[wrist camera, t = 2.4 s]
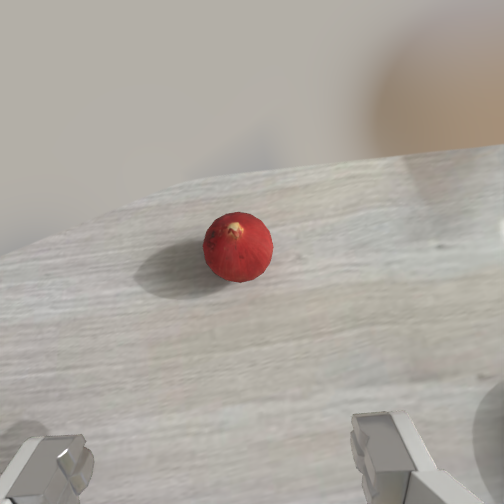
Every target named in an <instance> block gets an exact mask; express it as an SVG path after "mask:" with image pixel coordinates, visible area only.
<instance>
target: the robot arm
mask: <svg viewBox="0 0 504 504" xmlns="http://www.w3.org/2000/svg"><path fill="white" fill-rule="evenodd" d="M351 423H352V426H353V429H354V430H353V431H352V432H351V448H352V454H353V458H354V461H355V465H356V468H357V469H358V470H359V471H360V472H361V473H362V474H363V476H362V488H363V491H364V494H365V498H366V501H367V504H485V503H484V502H483V501H481V500H480V499H479V498H478V497H477V496H475V495H474V494H473V493H472V492H471V491H469V490H468V489H467V488H466V487H464V486H463V485H462V484H461V483H460V482H458V481H457V480H456V479H455V478H454V477H452V476H451V475H450V474H449V473H448V472H446V471H445V470H444V469H441V470H438V468H437V467H436V465H435V463H434V461H433V459H432V457H431V455H430V453H429V452H428V450H427V448H426V446H425V444H424V442H423V440H422V438H421V437H420V435H419V433H418V431H417V429H416V427H415V425H414V423H413V422H412V420H411V418H410V416H409V414H408V413H407V412H406V411H403V410H401V411H391V412H386V411H383V412H372V413H361V414H353V416H352V421H351ZM85 443H86V440H85V438H84V436H83V435H82V434H79V435H61V436H41V437H30V438H29V439H27V440H26V441H25V442H24V443H23V444H22V445H21V447H20V448H19V450H18V451H17V453H16V454H15V456H14V457H13V459H12V460H11V462H10V463H9V465H8V466H7V468H6V469H5V470H4V472H3V473H2V475H1V476H0V504H80V500H79V494H80V493H81V492H82V491H83V490H84V489H85V488H86V487H87V486H88V484H89V482H90V479H91V477H92V473H93V468H94V457H93V454H92V452H91V450H89V449H87V448H86V447H84V445H85Z"/></svg>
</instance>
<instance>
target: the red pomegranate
mask: <svg viewBox="0 0 504 504" xmlns="http://www.w3.org/2000/svg"><path fill="white" fill-rule="evenodd" d="M203 251H204V255H205V260H206V263H207V264H208V266H209V267H210V268H211V269H212V271H213V272H214V273H215V274H216V275H218V276H220V277H222V278H223V279H225V280H227V281H233V282H239V283H242V282H246V281H250V280H253V279H255V278H256V277H258V276H259V275H261V274H262V273H264V271H265V270H266V268H267V266H268V265H269V263H270V261H271V257H272V252H273V243H272V239H271V235H270V232H269V230H268V229H267V228H266V226H265V225H264V224H263V222H262V221H261V220H259V219H258V218H256V217H254V216H253V215H251V214H247V213H241V212H235V213H229V214H225V215H223V216H221V217H220V218H218V219H216V220H215V221H214V222H213V223H212V225H211V226H210V227H209V229H208V230H207V232H206V235H205V239H204V242H203Z"/></svg>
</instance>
